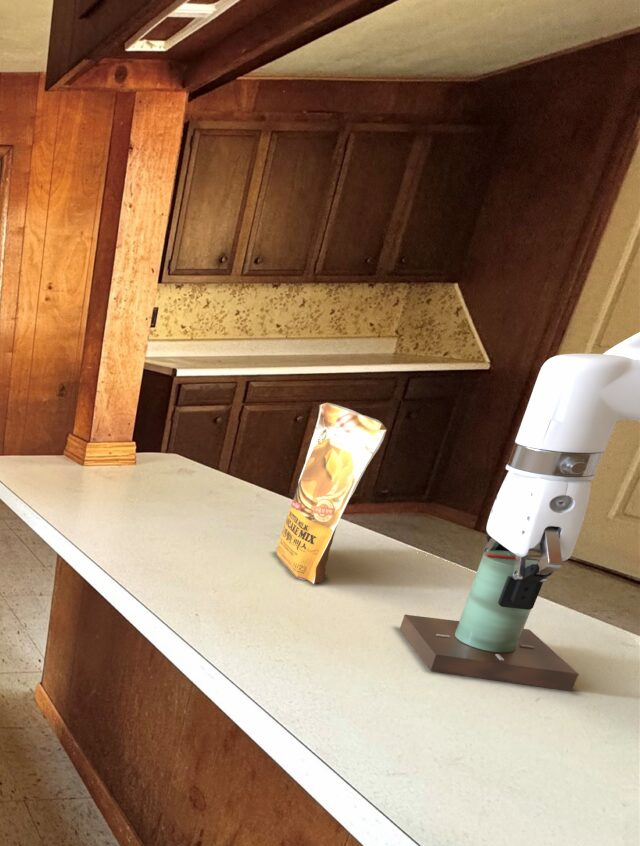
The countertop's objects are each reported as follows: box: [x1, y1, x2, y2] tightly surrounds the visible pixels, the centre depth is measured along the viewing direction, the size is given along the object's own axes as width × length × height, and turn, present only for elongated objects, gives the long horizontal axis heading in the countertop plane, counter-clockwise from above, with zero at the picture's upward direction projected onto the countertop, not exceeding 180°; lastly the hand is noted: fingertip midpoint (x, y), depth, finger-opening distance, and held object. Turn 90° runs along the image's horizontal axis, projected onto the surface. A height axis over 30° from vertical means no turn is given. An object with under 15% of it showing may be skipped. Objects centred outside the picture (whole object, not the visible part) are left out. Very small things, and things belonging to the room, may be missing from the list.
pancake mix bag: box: [276, 402, 388, 585], centre depth 113 cm, size 7×19×28 cm, turn 164°
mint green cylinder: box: [455, 550, 538, 653], centre depth 86 cm, size 6×6×12 cm
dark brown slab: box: [399, 614, 579, 692], centre depth 89 cm, size 14×12×3 cm
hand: (501, 594), depth 86 cm, fingers closed on mint green cylinder, 6 cm apart
